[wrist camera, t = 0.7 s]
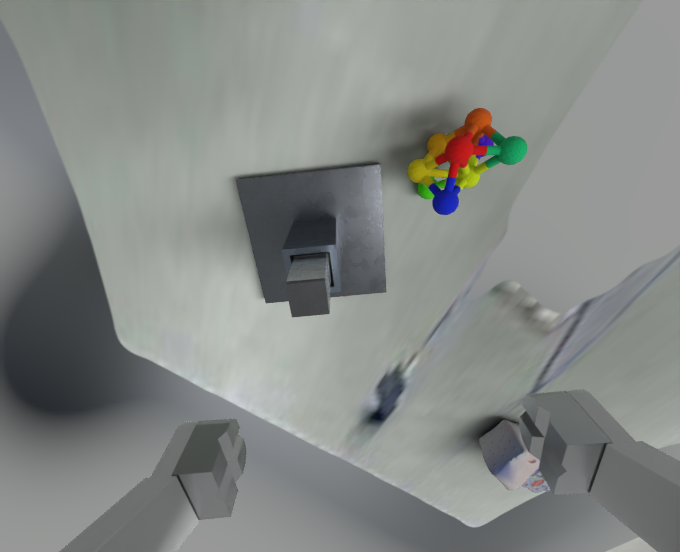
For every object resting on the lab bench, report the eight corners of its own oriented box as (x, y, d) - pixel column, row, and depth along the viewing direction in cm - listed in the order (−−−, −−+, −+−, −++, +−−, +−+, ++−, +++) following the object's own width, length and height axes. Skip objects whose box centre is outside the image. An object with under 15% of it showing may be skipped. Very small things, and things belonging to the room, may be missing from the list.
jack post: (301, 230, 47) (284, 284, 32) (329, 227, 47) (325, 280, 32) (305, 256, 49) (291, 317, 34) (332, 253, 49) (329, 314, 34)
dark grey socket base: (239, 178, 46) (208, 198, 35) (379, 163, 45) (392, 178, 34) (267, 298, 55) (250, 343, 44) (385, 287, 54) (396, 330, 43)
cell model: (530, 456, 57) (607, 484, 62) (501, 407, 67) (569, 434, 72) (483, 495, 63) (557, 518, 67) (462, 444, 72) (529, 467, 77)
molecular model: (422, 202, 48) (448, 226, 37) (394, 163, 45) (413, 176, 35) (492, 149, 44) (541, 158, 34) (466, 104, 42) (510, 99, 32)
